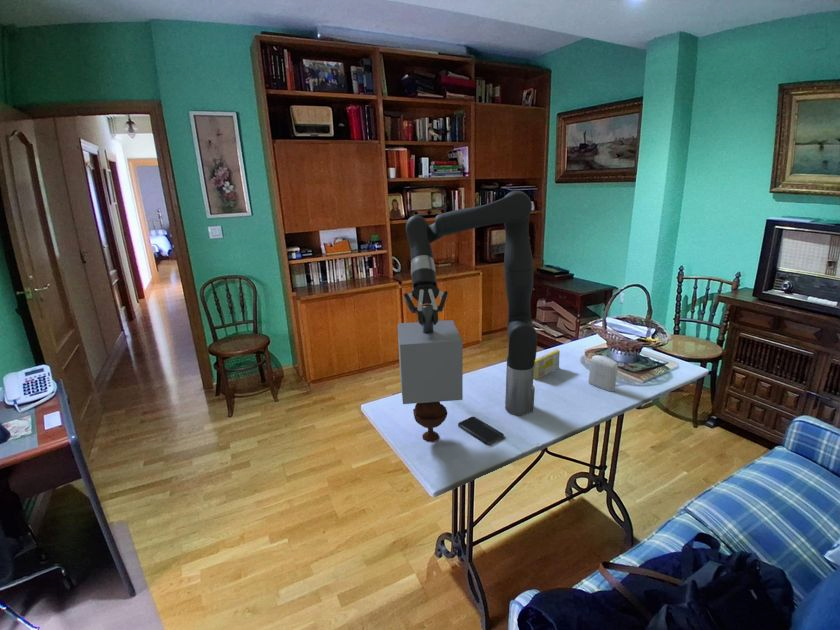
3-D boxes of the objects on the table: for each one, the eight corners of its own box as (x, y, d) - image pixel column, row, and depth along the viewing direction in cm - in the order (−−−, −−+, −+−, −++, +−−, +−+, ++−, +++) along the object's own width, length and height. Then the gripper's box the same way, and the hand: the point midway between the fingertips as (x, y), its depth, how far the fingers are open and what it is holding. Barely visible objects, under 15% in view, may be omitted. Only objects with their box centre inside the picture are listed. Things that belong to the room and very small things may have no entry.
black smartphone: (488, 444, 135) (456, 423, 147) (488, 447, 136) (456, 426, 147) (506, 435, 140) (473, 415, 151) (505, 438, 140) (473, 418, 151)
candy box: (555, 367, 188) (556, 349, 185) (559, 368, 186) (560, 350, 183) (531, 378, 178) (532, 360, 176) (535, 380, 177) (536, 361, 174)
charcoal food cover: (453, 373, 145) (452, 296, 136) (462, 399, 128) (462, 313, 120) (400, 376, 144) (396, 299, 135) (402, 404, 127) (398, 317, 118)
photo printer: (617, 389, 168) (620, 359, 164) (611, 392, 165) (614, 363, 161) (592, 380, 175) (595, 351, 171) (586, 383, 173) (589, 354, 169)
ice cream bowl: (453, 432, 143) (452, 391, 138) (436, 450, 134) (436, 407, 129) (425, 424, 148) (423, 384, 144) (407, 441, 139) (405, 399, 134)
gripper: (400, 268, 131) (404, 319, 123) (447, 265, 132) (454, 317, 124) (400, 281, 137) (404, 330, 130) (444, 278, 138) (451, 328, 131)
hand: (428, 323), depth 127 cm, fingers closed on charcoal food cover, 3 cm apart
